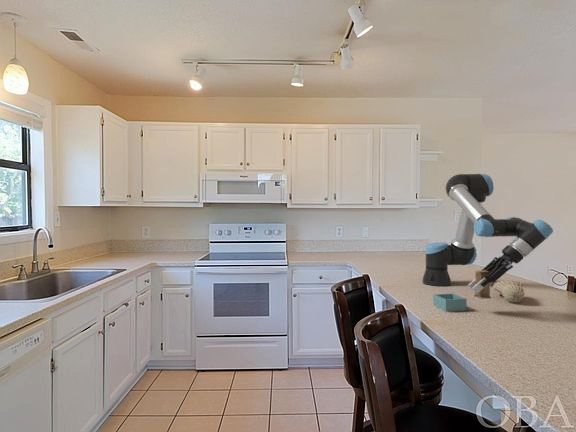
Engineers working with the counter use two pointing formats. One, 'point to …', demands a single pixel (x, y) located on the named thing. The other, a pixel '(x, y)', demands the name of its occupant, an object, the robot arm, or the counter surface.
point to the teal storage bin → (450, 302)
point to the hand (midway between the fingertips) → (472, 289)
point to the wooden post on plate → (486, 290)
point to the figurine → (509, 290)
